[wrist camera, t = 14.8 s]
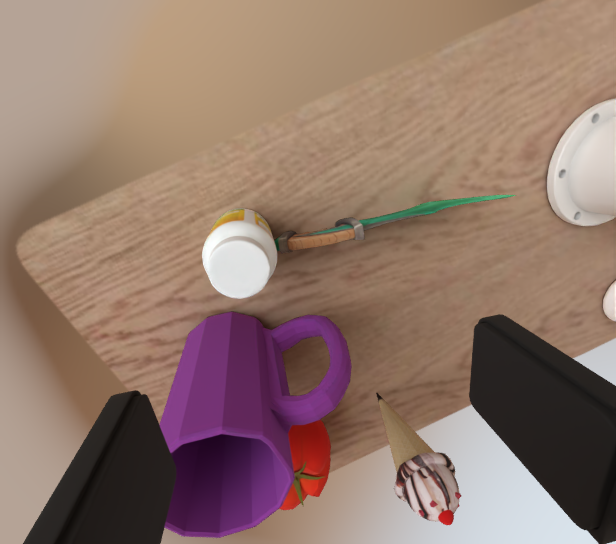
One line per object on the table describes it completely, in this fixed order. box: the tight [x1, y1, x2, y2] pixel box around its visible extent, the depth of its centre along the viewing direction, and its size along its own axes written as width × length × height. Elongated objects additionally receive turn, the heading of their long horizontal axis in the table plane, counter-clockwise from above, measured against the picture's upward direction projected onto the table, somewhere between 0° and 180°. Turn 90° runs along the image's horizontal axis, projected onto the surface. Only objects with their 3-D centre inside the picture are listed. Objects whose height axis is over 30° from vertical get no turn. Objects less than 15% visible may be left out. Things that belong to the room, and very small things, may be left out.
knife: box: [274, 195, 516, 253], centre depth 28 cm, size 21×2×5 cm, turn 102°
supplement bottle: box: [202, 208, 277, 299], centre depth 25 cm, size 5×5×10 cm
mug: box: [159, 312, 351, 538], centre depth 26 cm, size 9×16×15 cm, turn 115°
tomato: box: [279, 420, 331, 510], centre depth 34 cm, size 9×9×8 cm
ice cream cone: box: [376, 393, 461, 525], centre depth 32 cm, size 6×6×15 cm
